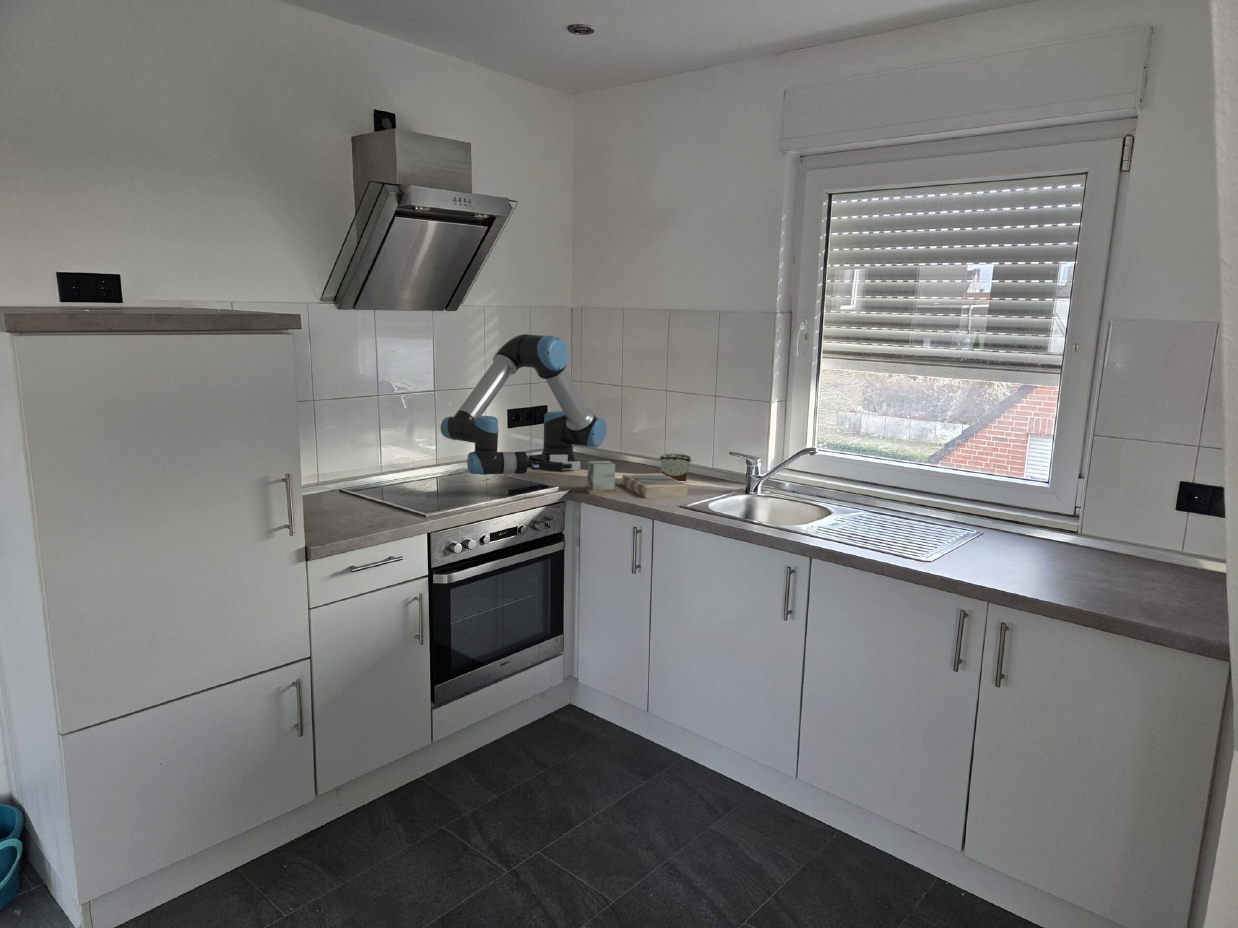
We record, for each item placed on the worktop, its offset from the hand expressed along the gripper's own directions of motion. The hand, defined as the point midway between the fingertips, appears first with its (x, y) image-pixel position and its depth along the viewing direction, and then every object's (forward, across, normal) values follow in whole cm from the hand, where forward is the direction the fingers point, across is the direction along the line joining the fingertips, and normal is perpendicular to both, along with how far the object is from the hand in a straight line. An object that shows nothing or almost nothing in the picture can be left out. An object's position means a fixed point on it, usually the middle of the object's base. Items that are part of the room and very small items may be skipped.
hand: (573, 461), depth 283 cm
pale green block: (+11, 0, -11) cm, 15 cm away
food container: (+47, -14, -11) cm, 50 cm away
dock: (+31, +2, -11) cm, 33 cm away
